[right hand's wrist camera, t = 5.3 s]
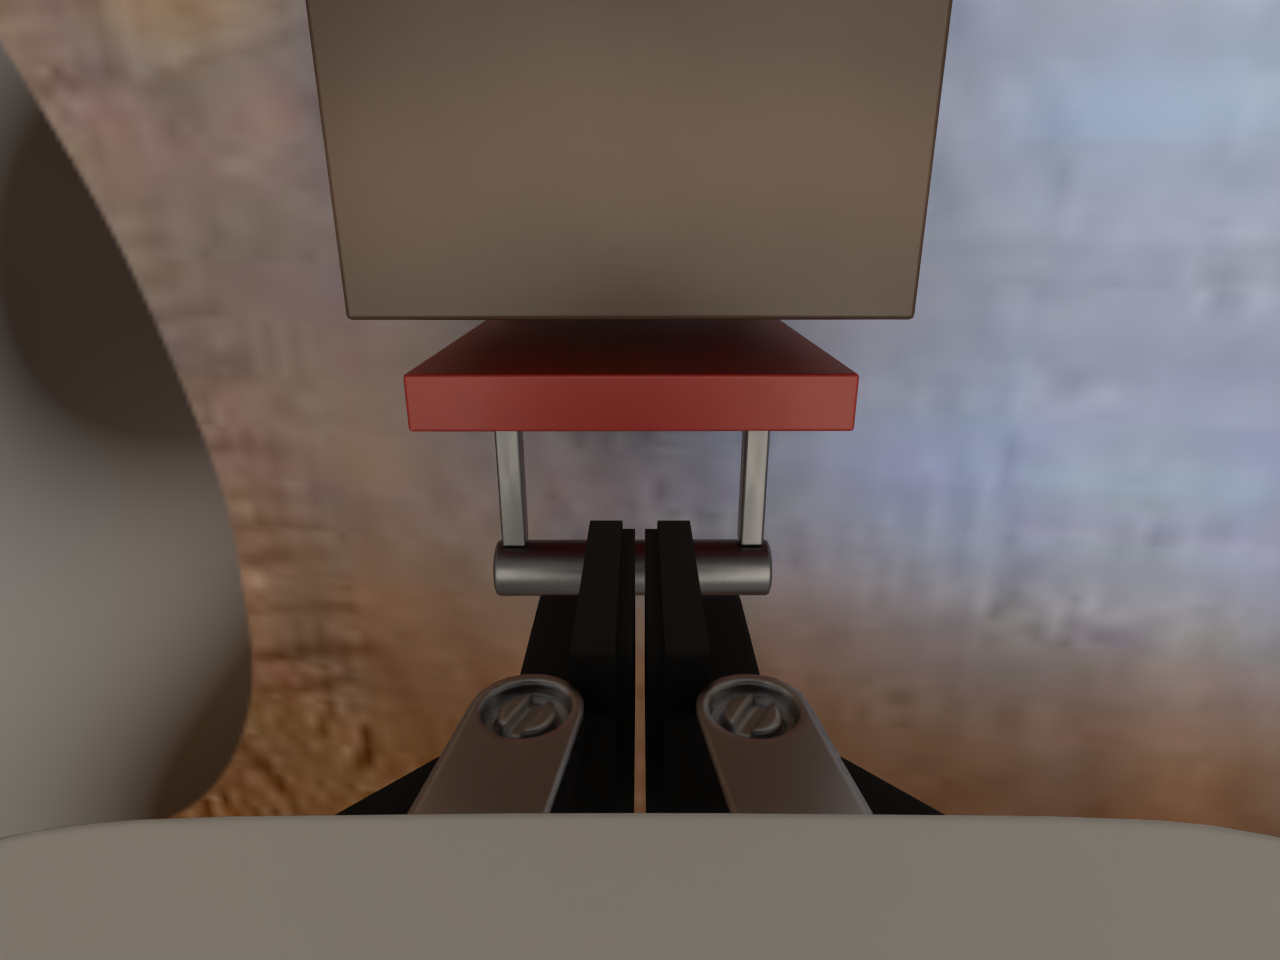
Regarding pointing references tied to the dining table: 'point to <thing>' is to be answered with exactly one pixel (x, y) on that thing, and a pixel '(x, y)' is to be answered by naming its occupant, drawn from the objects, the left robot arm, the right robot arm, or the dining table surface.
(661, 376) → the drawer
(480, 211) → the cabinet
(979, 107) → the dining table surface
